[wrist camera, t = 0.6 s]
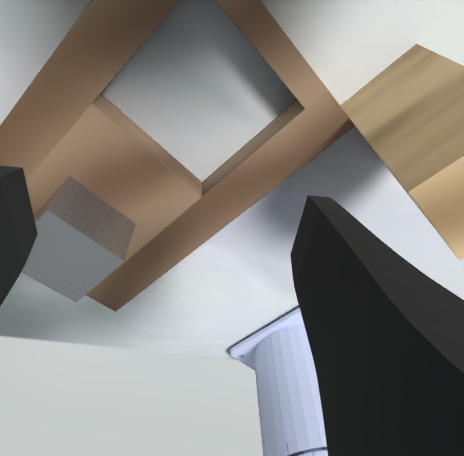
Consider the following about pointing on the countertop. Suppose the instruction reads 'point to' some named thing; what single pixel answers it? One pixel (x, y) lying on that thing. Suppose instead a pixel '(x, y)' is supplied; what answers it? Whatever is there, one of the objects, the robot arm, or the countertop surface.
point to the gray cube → (77, 241)
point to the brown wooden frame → (146, 149)
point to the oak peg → (420, 134)
